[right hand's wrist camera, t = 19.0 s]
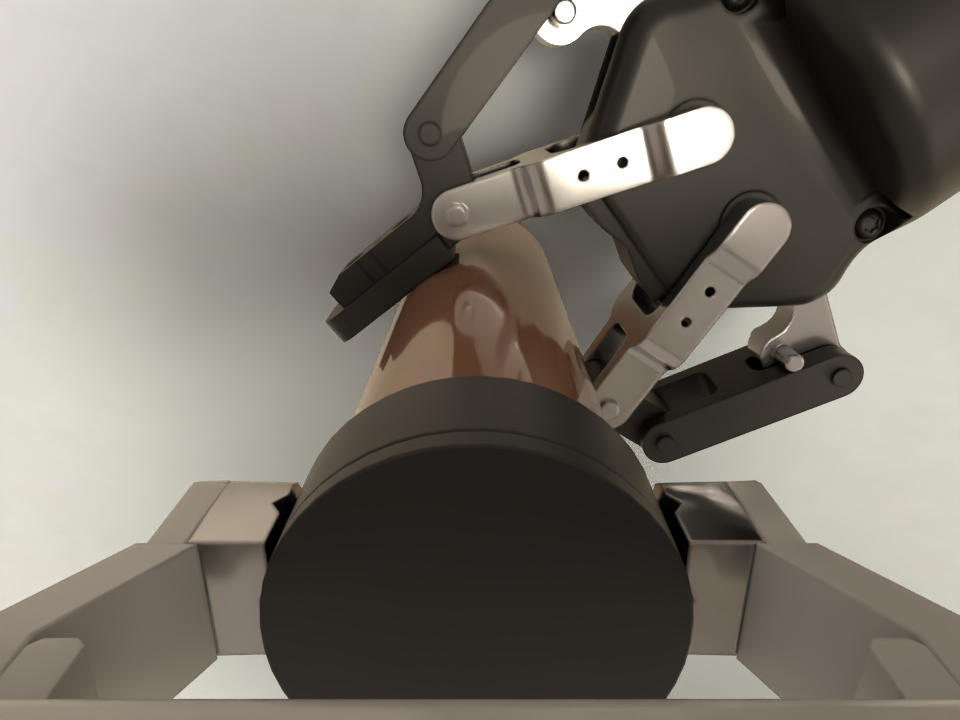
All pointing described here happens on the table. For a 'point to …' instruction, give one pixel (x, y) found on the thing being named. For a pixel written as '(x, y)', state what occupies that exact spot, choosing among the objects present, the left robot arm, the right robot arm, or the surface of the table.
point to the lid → (476, 556)
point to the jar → (485, 323)
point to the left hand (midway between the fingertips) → (408, 395)
